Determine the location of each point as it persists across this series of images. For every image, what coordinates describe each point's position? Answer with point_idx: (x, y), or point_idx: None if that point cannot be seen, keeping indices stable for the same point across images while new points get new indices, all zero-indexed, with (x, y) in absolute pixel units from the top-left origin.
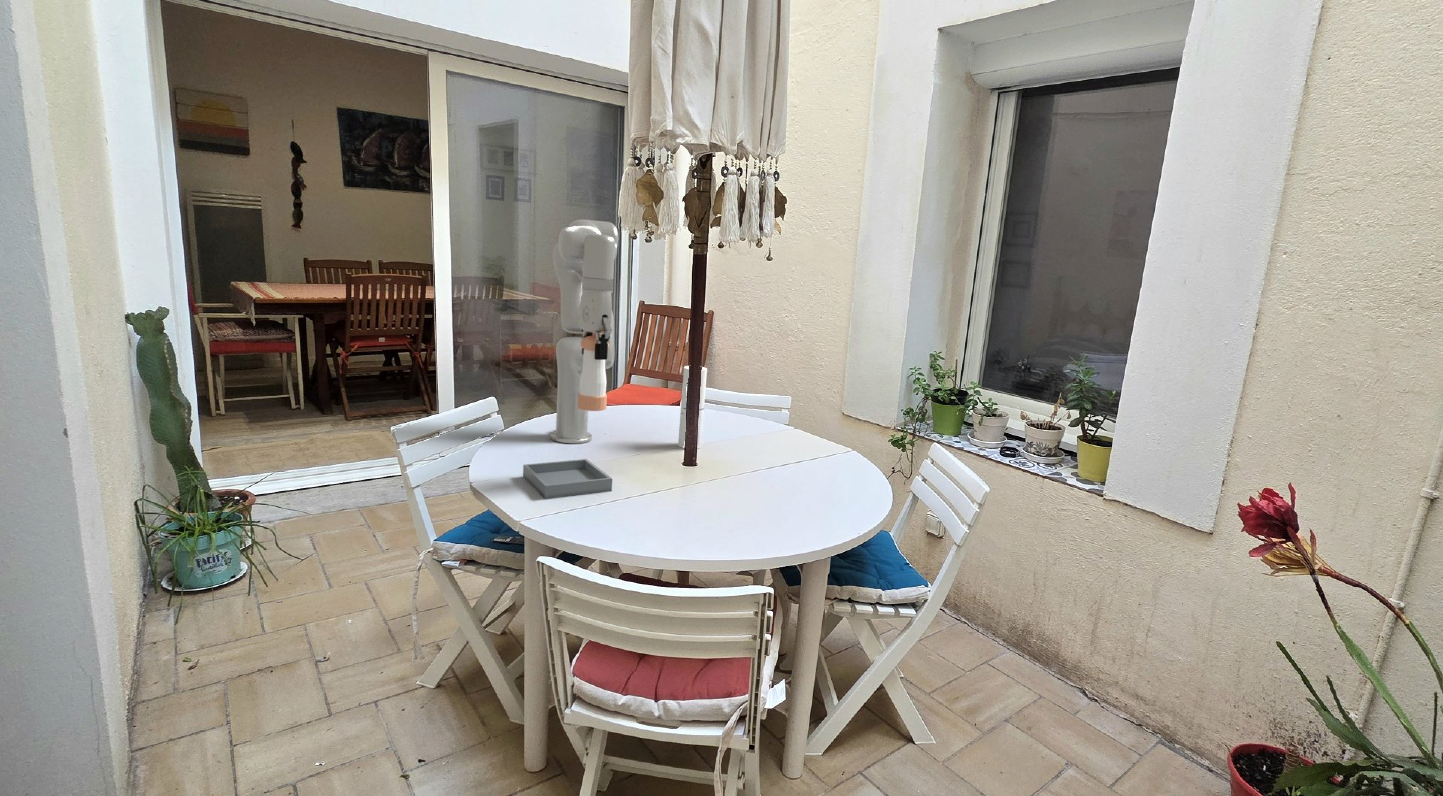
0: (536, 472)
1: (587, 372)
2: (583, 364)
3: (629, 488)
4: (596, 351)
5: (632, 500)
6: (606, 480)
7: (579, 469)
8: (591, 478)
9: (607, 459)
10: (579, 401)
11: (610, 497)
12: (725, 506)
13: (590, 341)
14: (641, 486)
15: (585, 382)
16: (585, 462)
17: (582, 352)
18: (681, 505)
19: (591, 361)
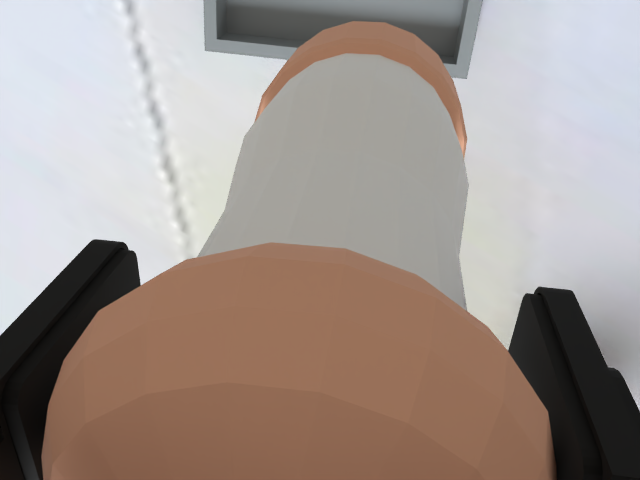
0: None
1: (275, 137)
2: (358, 161)
3: (222, 111)
4: (40, 307)
5: (116, 58)
6: (205, 24)
7: (453, 33)
8: (334, 24)
9: (535, 205)
10: (362, 30)
11: (160, 3)
12: (19, 263)
13: (88, 385)
14: (228, 156)
15: (291, 89)
16: (445, 61)
17: (548, 297)
18: (46, 169)
19: (223, 221)
